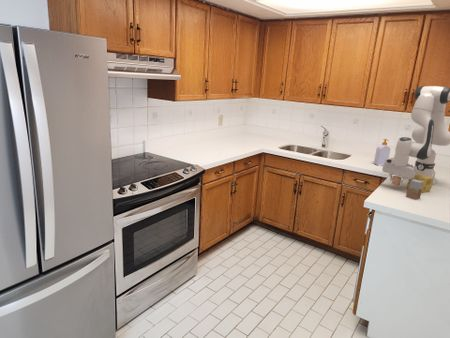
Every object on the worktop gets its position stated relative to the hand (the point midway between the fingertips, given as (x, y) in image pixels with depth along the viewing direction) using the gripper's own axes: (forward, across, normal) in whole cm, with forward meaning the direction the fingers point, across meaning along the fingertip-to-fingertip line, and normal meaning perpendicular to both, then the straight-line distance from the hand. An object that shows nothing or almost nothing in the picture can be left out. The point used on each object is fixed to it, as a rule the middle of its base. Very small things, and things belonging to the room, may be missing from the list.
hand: (396, 181), depth 217 cm
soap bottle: (+6, +38, -55) cm, 67 cm away
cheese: (+5, -10, -12) cm, 17 cm away
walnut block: (+5, -15, +8) cm, 18 cm away
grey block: (-1, -15, +8) cm, 17 cm away
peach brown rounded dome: (+2, 0, 0) cm, 2 cm away
